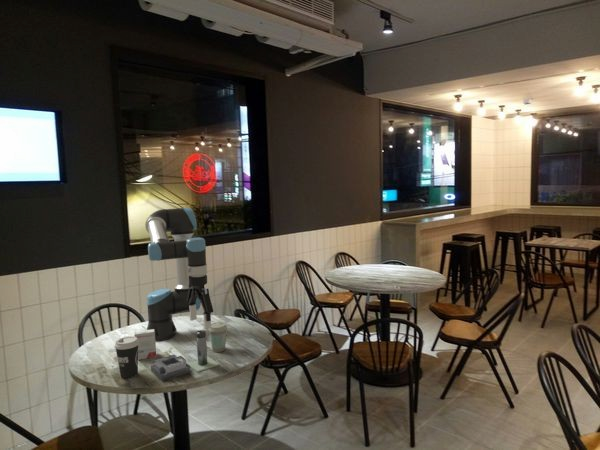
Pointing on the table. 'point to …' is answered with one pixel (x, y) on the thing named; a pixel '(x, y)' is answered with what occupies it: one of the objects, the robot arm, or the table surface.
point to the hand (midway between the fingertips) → (200, 323)
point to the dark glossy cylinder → (201, 347)
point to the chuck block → (170, 367)
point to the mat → (199, 368)
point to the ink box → (146, 344)
